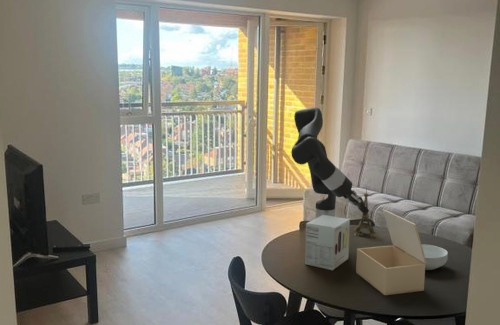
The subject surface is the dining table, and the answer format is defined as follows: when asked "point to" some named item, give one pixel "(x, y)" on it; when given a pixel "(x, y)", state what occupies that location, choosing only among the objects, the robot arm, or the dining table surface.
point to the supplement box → (327, 241)
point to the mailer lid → (404, 235)
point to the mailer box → (390, 270)
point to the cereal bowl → (433, 256)
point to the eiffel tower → (365, 224)
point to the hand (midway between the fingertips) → (366, 212)
